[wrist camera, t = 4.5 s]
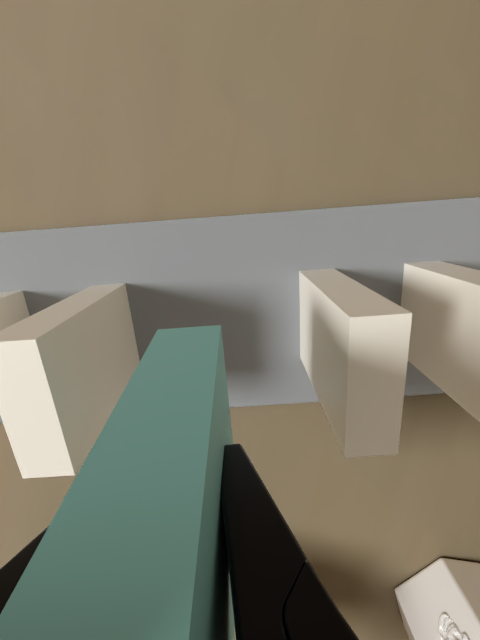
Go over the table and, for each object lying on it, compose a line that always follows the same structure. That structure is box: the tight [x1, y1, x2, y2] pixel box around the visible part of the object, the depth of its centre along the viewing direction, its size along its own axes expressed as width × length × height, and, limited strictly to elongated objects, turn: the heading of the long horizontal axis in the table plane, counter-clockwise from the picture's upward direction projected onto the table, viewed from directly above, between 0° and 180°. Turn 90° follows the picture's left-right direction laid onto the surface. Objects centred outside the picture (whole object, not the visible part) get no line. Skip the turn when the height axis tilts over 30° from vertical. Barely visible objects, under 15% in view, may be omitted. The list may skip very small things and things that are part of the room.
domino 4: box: [401, 261, 480, 422], centre depth 14 cm, size 2×5×8 cm, turn 4°
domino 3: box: [299, 268, 412, 458], centre depth 14 cm, size 2×5×8 cm, turn 4°
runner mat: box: [0, 197, 480, 423], centre depth 18 cm, size 11×37×1 cm, turn 94°
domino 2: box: [0, 325, 234, 640], centre depth 6 cm, size 2×5×8 cm, turn 4°
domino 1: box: [0, 283, 140, 478], centre depth 14 cm, size 2×5×8 cm, turn 4°
